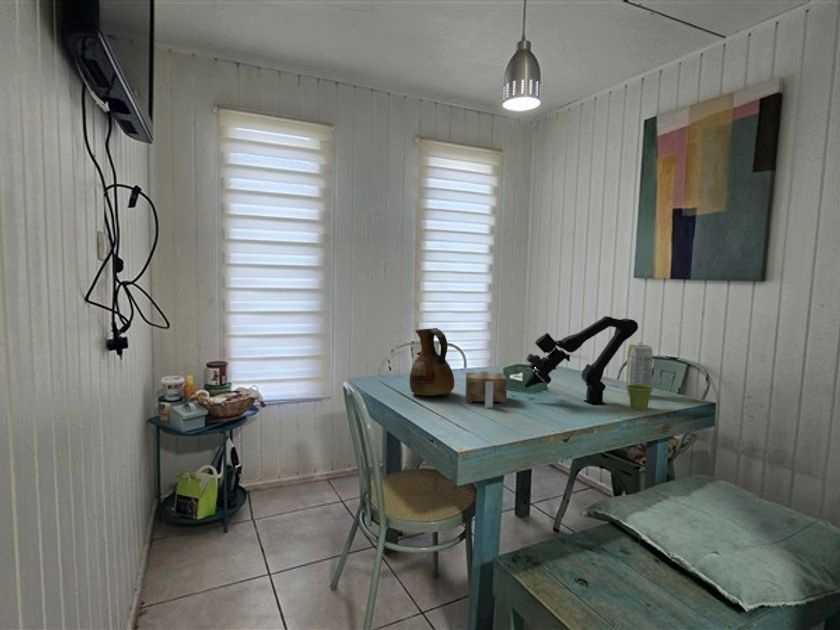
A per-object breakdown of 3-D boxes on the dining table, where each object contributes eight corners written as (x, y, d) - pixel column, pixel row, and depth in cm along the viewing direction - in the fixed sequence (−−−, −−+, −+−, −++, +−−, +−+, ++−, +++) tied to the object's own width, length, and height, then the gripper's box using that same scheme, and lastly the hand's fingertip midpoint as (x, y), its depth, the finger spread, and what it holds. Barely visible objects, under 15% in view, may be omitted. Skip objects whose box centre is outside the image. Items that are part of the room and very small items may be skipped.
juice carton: (645, 394, 212) (647, 341, 210) (652, 398, 204) (654, 344, 202) (624, 393, 213) (626, 341, 211) (630, 397, 205) (632, 343, 203)
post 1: (486, 393, 210) (487, 371, 209) (487, 394, 207) (487, 372, 206) (479, 393, 210) (480, 371, 209) (480, 394, 207) (480, 372, 206)
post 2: (491, 406, 188) (492, 381, 187) (492, 408, 185) (493, 383, 184) (484, 406, 188) (485, 381, 187) (485, 408, 185) (485, 383, 184)
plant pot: (657, 410, 185) (658, 388, 184) (639, 412, 182) (640, 390, 181) (638, 404, 194) (639, 383, 193) (621, 406, 190) (621, 385, 190)
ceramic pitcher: (427, 387, 219) (428, 324, 217) (463, 394, 207) (464, 327, 204) (399, 395, 204) (400, 327, 202) (436, 403, 191) (437, 330, 189)
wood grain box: (502, 397, 203) (502, 373, 202) (506, 404, 191) (506, 379, 190) (465, 396, 204) (466, 372, 203) (467, 403, 192) (467, 378, 191)
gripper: (534, 344, 204) (508, 369, 205) (543, 350, 185) (515, 377, 187) (551, 362, 204) (526, 386, 206) (563, 370, 186) (534, 397, 187)
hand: (525, 386), depth 196 cm, fingers closed
